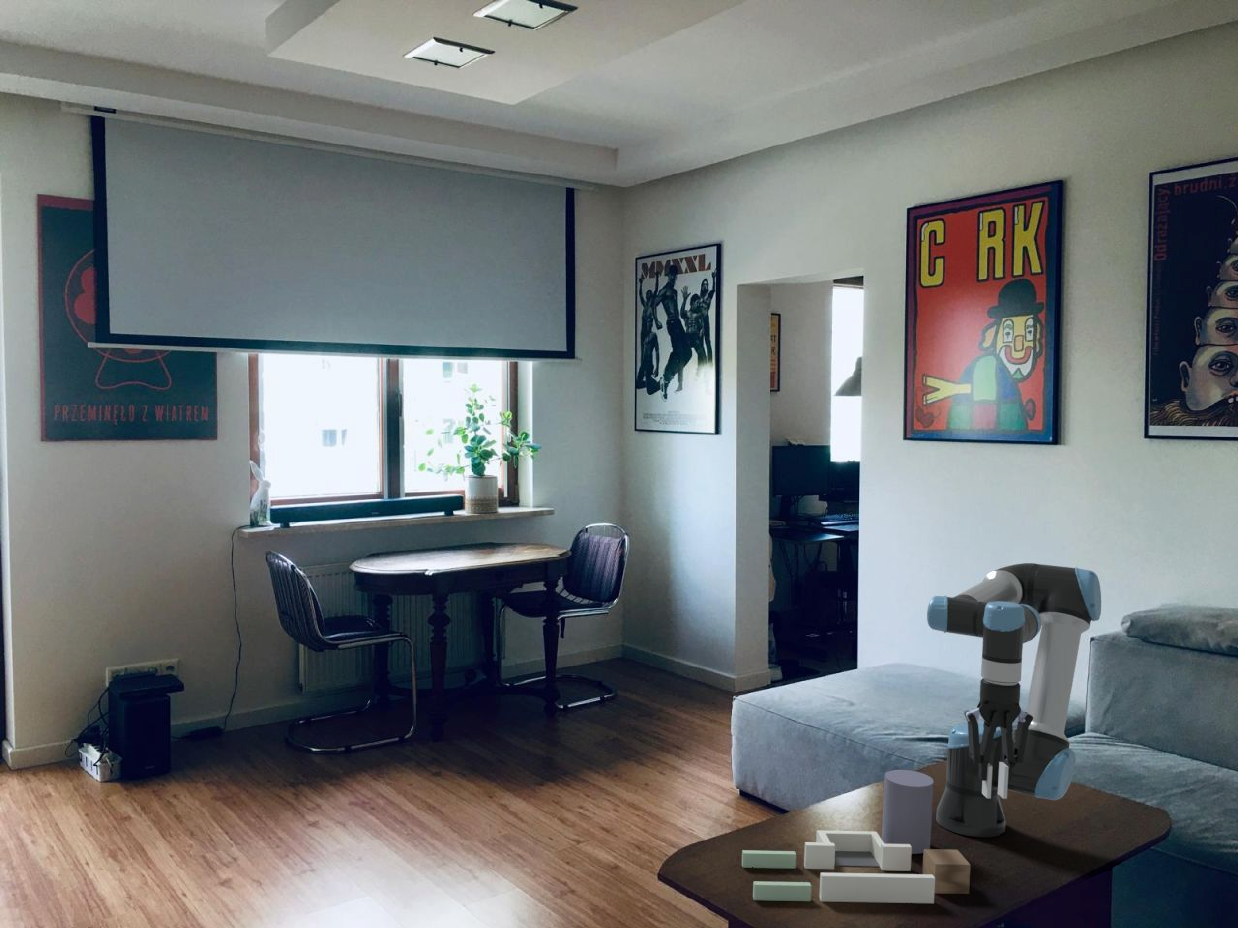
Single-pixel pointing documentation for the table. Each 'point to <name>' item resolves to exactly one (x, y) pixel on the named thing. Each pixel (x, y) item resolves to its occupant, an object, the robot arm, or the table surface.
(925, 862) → the block
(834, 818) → the table surface
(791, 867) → the rails
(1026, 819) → the table surface
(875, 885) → the white walled enclosure
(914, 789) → the lavender cylinder
